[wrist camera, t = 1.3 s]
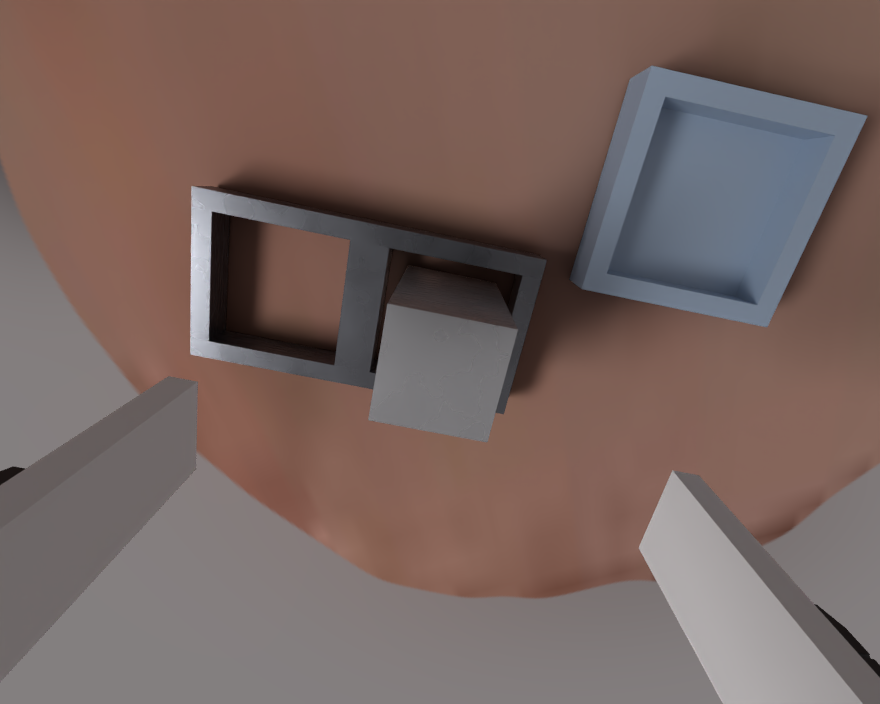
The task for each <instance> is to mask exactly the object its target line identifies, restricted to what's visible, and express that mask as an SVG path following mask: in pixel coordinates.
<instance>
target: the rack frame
mask: <svg viewBox="0 0 880 704" xmlns="http://www.w3.org/2000/svg"><path fill="white" fill-rule="evenodd" d="M230 215H232V216H237V217H242V218H247V219H251V220H256V221H261V222H266V223H271V224H276V225H280V226H285V227H290V228H295V229H300V230H305V231H310V232H314V233H319V234H324V235H329V236H334V237H339V238H344V239H348V240H350V247H349V254H348V262H347V270H346V278H345V286H344V294H343V301H342V309H341V317H340V325H339V333H338V340H337V348H336V352H334V351H329V350H324V349H319V348H314V347H308V346H303V345H298V344H293V343H288V342H283V341H277V340H272V339H267V338H262V337H257V336H252V335H247V334H241V333H236V332H231V331H226V312H227V284H228V256H229V228H230ZM393 249H397V250H402V251H407V252H411V253H416V254H421V255H426V256H431V257H436V258H441V259H445V260H450V261H455V262H460V263H465V264H470V265H475V266H479V267H484V268H489V269H494V270H499V271H504V272H509V273H513V274H516V276H515V280H514V284H513V288H512V291H511V295H510V299H509V303H508V307H507V308H508V310H509V312H510V314H511V316H512V318H513V320H514V322H515V324H516V326H517V328H518V332H517V335H516V339H515V343H514V346H513V350H512V354H511V357H510V361H509V365H508V368H507V372H506V376H505V379H504V383H503V387H502V390H501V394H500V398H499V401H498V405H497V409H496V412H495V413H501V414H504V411H505V408H506V404H507V400H508V397H509V393H510V390H511V386H512V383H513V379H514V376H515V372H516V368H517V365H518V361H519V358H520V354H521V351H522V347H523V344H524V340H525V336H526V333H527V329H528V326H529V322H530V319H531V315H532V312H533V308H534V304H535V301H536V297H537V294H538V290H539V287H540V283H541V280H542V276H543V272H544V269H545V265H546V262H547V260H546V259H545V258H543V257H542V256H541V255H538V254H534V253H529V252H524V251H519V250H515V249H510V248H505V247H500V246H495V245H491V244H486V243H481V242H476V241H471V240H467V239H462V238H457V237H452V236H447V235H443V234H438V233H433V232H428V231H423V230H419V229H414V228H409V227H404V226H400V225H395V224H390V223H385V222H380V221H376V220H371V219H366V218H361V217H356V216H352V215H347V214H342V213H337V212H332V211H328V210H323V209H318V208H313V207H309V206H304V205H299V204H294V203H289V202H285V201H280V200H275V199H270V198H265V197H261V196H256V195H251V194H246V193H241V192H237V191H232V190H227V189H222V188H218V187H213V186H192V208H191V348H190V354H191V355H196V356H201V357H207V358H212V359H217V360H222V361H228V362H233V363H238V364H243V365H249V366H254V367H259V368H264V369H270V370H275V371H280V372H285V373H291V374H296V375H301V376H306V377H312V378H317V379H322V380H327V381H333V382H338V383H343V384H348V385H354V386H359V387H364V388H369V389H374V383H375V376H376V370H377V364H378V360H376V359H375V357H376V351H377V345H378V339H379V333H380V326H381V320H382V314H383V308H384V302H385V295H386V289H387V283H388V277H389V271H390V264H391V258H392V252H393Z"/></svg>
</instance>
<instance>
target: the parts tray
mask: <svg viewBox="0 0 880 704" xmlns="http://www.w3.org/2000/svg"><path fill="white" fill-rule="evenodd" d="M866 118H867V116H866V115H862V114H858V113H853V112H849V111H845V110H840V109H836V108H832V107H827V106H823V105H819V104H815V103H810V102H806V101H802V100H797V99H793V98H789V97H784V96H780V95H776V94H772V93H767V92H763V91H759V90H754V89H750V88H746V87H741V86H737V85H733V84H728V83H724V82H720V81H716V80H711V79H707V78H703V77H698V76H694V75H690V74H685V73H681V72H677V71H673V70H668V69H664V68H660V67H655V66H650V67H649V68H647V69H646V70H644V71H642V72H641V73H639V74H637V75H636V76H634V77H632V78H631V79H630V81H629V84H628V87H627V91H626V94H625V97H624V101H623V104H622V107H621V110H620V114H619V117H618V120H617V124H616V127H615V130H614V134H613V137H612V140H611V143H610V147H609V150H608V153H607V157H606V160H605V163H604V167H603V170H602V173H601V176H600V180H599V183H598V186H597V190H596V193H595V196H594V200H593V203H592V206H591V210H590V213H589V216H588V219H587V223H586V226H585V229H584V233H583V236H582V239H581V243H580V246H579V249H578V252H577V256H576V259H575V262H574V266H573V269H572V272H571V276H570V279H569V280H570V281H572V282H573V283H574V284H576V285H577V286H578V287H580V288H581V289H584V290H589V291H593V292H598V293H603V294H608V295H613V296H618V297H623V298H627V299H632V300H637V301H642V302H647V303H652V304H657V305H661V306H666V307H671V308H676V309H681V310H686V311H691V312H695V313H700V314H705V315H710V316H715V317H720V318H725V319H729V320H734V321H739V322H744V323H749V324H754V325H759V326H763V327H768V324H769V322H770V320H771V318H772V316H773V314H774V312H775V310H776V308H777V305H778V303H779V301H780V299H781V297H782V295H783V293H784V291H785V289H786V287H787V284H788V282H789V280H790V278H791V276H792V274H793V272H794V270H795V268H796V266H797V263H798V261H799V259H800V257H801V255H802V253H803V251H804V249H805V247H806V244H807V242H808V240H809V238H810V236H811V234H812V232H813V230H814V228H815V226H816V223H817V221H818V219H819V217H820V215H821V213H822V211H823V209H824V207H825V205H826V202H827V200H828V198H829V196H830V194H831V192H832V190H833V188H834V186H835V183H836V181H837V179H838V177H839V175H840V173H841V171H842V169H843V167H844V165H845V162H846V160H847V158H848V156H849V154H850V152H851V150H852V148H853V146H854V143H855V141H856V139H857V137H858V135H859V133H860V131H861V129H862V127H863V125H864V122H865V120H866Z"/></svg>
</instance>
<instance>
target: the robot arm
mask: <svg viewBox="0 0 880 704" xmlns="http://www.w3.org/2000/svg"><path fill="white" fill-rule="evenodd" d="M197 393H198V382H196V381H191V380H185V379H180V378H175V377H169V376H168V377H167V378H165V379H164V380H162V381H160V382H159V383H157V384H156V385H154V386H153V387H151V388H150V389H148V390H147V391H145V392H143V393H142V394H140V395H139V396H137V397H136V398H134V399H133V400H131V401H130V402H128V403H126V404H125V405H123V406H122V407H120V408H119V409H117V410H116V411H114V412H113V413H111V414H110V415H108V416H107V417H105V418H103V419H102V420H100V421H99V422H97V423H96V424H94V425H93V426H91V427H89V428H88V429H86V430H85V431H83V432H82V433H80V434H79V435H77V436H76V437H74V438H72V439H71V440H70V441H68V442H66V443H65V444H63V445H62V446H60V447H59V448H57V449H56V450H54V451H52V452H51V453H49V454H48V455H46V456H45V457H43V458H42V459H40V460H39V461H37V462H35V463H34V464H32V465H31V466H29V467H28V468H26V469H24V468H19V467H10V468H8V469H5V470H3V471H0V682H1V680H3V679H4V677H5V676H6V675H7V674H8V673H9V672H10V671H11V670H12V669H13V667H15V665H16V664H17V663H18V662H19V661H20V660H21V659H22V658H23V657H24V656H25V654H26V653H27V652H28V651H29V650H30V649H31V648H32V647H33V646H34V645H35V644H36V643H37V641H38V640H39V639H40V638H41V637H42V636H43V635H44V634H45V633H46V632H47V631H48V629H50V627H51V626H52V625H53V624H54V623H55V622H56V621H57V620H58V619H59V618H60V617H61V615H62V614H63V613H64V612H65V611H66V610H67V609H68V608H69V607H70V606H71V605H72V603H73V602H74V601H75V600H76V599H77V598H78V597H79V596H80V595H81V594H82V593H83V592H84V590H85V589H86V588H87V587H88V586H89V585H90V584H91V583H92V582H93V581H94V580H95V578H96V577H97V576H98V575H99V574H100V573H101V572H102V571H103V570H104V569H105V568H106V566H107V565H108V564H109V563H110V562H111V561H112V560H113V559H114V558H115V557H116V556H117V555H118V553H119V552H120V551H121V550H122V549H123V548H124V547H125V546H126V545H127V544H128V543H129V542H130V540H131V539H132V538H133V537H134V536H135V535H136V534H137V533H138V532H139V531H140V529H141V528H142V527H143V526H144V525H145V524H146V523H147V522H148V521H149V520H150V518H152V516H153V515H154V514H155V513H156V512H157V511H158V510H159V509H160V508H161V507H162V505H164V503H165V502H166V501H167V500H168V499H169V498H170V497H171V496H172V495H173V494H174V492H175V491H176V490H177V489H178V488H179V487H180V486H181V485H182V484H183V483H184V482H185V481H186V480H187V478H188V477H189V476H190V475H191V474H192V473H193V472H194V471H195V470H196V439H197ZM639 549H640V551H641V553H642V555H643V557H644V559H645V560H646V562H647V564H648V566H649V568H650V570H651V572H652V573H653V575H654V577H655V579H656V581H657V583H658V584H659V586H660V588H661V590H662V592H663V594H664V595H665V597H666V599H667V601H668V603H669V605H670V607H671V609H672V610H673V612H674V614H675V616H676V618H677V619H678V621H679V623H680V625H681V627H682V629H683V631H684V633H685V634H686V636H687V638H688V639H689V642H690V644H691V646H692V647H693V649H694V651H695V653H696V655H697V656H698V658H699V660H700V662H701V664H702V666H703V668H704V669H705V671H706V673H707V675H708V677H709V679H710V681H711V683H712V684H713V686H714V688H715V690H716V692H717V694H718V695H719V697H720V699H721V701H722V703H723V704H880V665H879V664H878V663H877V662H876V661H875V660H874V659H871V658H870V656H869V655H870V654H869V653H868V652H867V651H866V650H865V649H864V647H863V646H861V644H860V643H859V642H858V641H857V640H856V639H855V638H854V637H853V636H852V634H851V633H850V632H849V631H848V630H847V629H846V628H845V627H844V626H842V625H841V624H840V623H839V622H837V621H836V620H835V619H834V618H832V617H831V616H830V615H829V614H827V613H826V612H825V611H824V610H823V609H821V608H820V607H819V606H818V605H815V604H813V602H812V601H810V599H809V598H808V597H807V596H806V595H805V594H804V593H803V591H802V590H801V589H800V588H799V587H798V586H797V585H796V584H795V583H794V581H793V580H792V579H791V578H790V577H789V576H788V575H787V573H786V572H785V571H784V570H783V569H782V568H781V567H780V566H779V564H777V562H776V561H775V560H774V559H773V558H772V557H771V556H770V554H769V553H768V552H767V551H766V550H765V549H764V548H763V547H762V545H761V544H760V543H759V542H758V541H757V540H756V539H755V538H754V537H753V535H752V534H751V533H750V532H749V531H748V530H747V529H746V528H745V526H744V525H743V524H742V523H741V522H740V521H739V520H738V519H737V518H736V516H735V515H734V514H733V513H732V512H731V511H730V510H729V509H728V508H727V506H726V505H725V504H724V503H723V502H722V501H721V500H720V499H719V497H718V496H717V495H716V494H715V493H714V492H713V491H712V490H711V489H710V487H709V486H708V485H707V484H706V483H705V482H704V481H703V480H702V478H701V477H700V476H699V475H694V474H689V473H683V472H678V471H672V473H671V475H670V477H669V480H668V482H667V484H666V487H665V489H664V491H663V493H662V496H661V498H660V500H659V503H658V505H657V507H656V509H655V512H654V514H653V516H652V519H651V521H650V523H649V525H648V528H647V530H646V532H645V534H644V537H643V539H642V541H641V544H640V546H639Z"/></svg>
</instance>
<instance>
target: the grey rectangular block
mask: <svg viewBox="0 0 880 704" xmlns="http://www.w3.org/2000/svg"><path fill="white" fill-rule="evenodd" d="M517 332H518V328H517V326H516V324H515V322H514V320H513V318H512V316H511V314H510V312H509V310H508V308H507V305H506V303H505V301H504V299H503V297H502V295H501V293H500V291H499V289H498V287H497V285H496V283H495V282H490V281H486V280H481V279H476V278H471V277H466V276H461V275H456V274H451V273H446V272H442V271H437V270H432V269H427V268H422V267H417V266H412V265H408V267H407V269H406V271H405V272H404V274H403V276H402V278H401V280H400V282H399V283H398V285H397V287H396V289H395V291H394V292H393V294H392V296H391V298H390V300H389V302H388V303H387V309H386V315H385V322H384V328H383V334H382V340H381V346H380V352H379V358H378V364H377V370H376V376H375V383H374V389H373V395H372V401H371V407H370V413H369V419H368V420H370V421H376V422H381V423H386V424H392V425H397V426H402V427H408V428H413V429H419V430H424V431H429V432H435V433H440V434H445V435H451V436H456V437H461V438H467V439H472V440H477V441H483V442H487V441H488V438H489V434H490V431H491V427H492V423H493V420H494V416H495V412H496V409H497V405H498V401H499V398H500V394H501V390H502V387H503V383H504V379H505V376H506V372H507V368H508V365H509V361H510V357H511V354H512V350H513V346H514V343H515V339H516V335H517Z"/></svg>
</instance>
